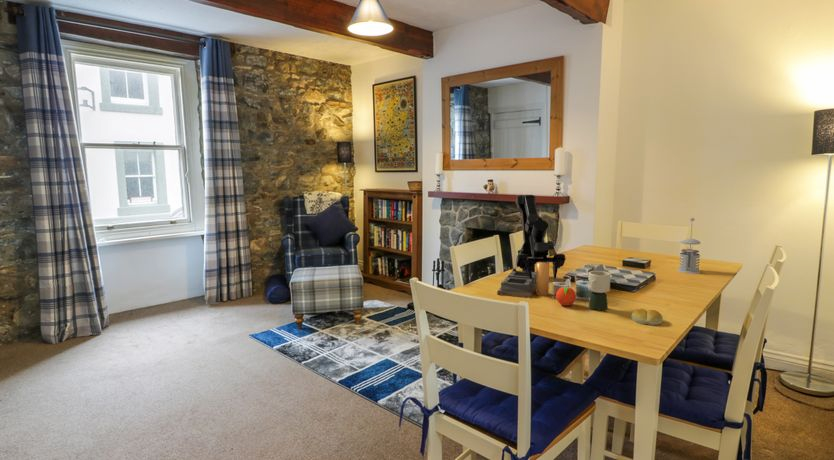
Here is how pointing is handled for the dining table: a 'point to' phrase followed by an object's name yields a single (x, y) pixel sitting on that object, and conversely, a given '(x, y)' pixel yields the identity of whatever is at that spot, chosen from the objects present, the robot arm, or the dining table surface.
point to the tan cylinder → (542, 278)
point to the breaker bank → (518, 284)
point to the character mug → (599, 289)
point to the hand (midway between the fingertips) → (543, 278)
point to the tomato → (566, 296)
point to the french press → (689, 257)
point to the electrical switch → (597, 268)
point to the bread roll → (647, 317)
